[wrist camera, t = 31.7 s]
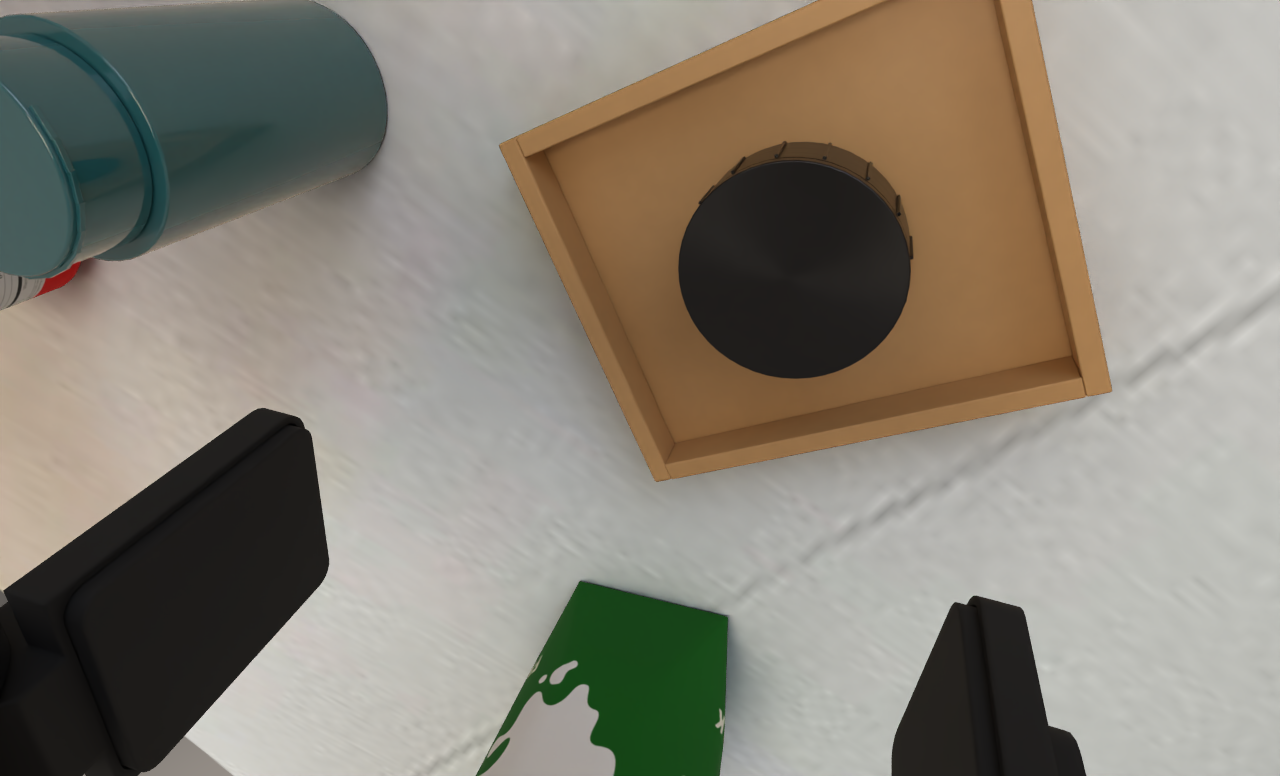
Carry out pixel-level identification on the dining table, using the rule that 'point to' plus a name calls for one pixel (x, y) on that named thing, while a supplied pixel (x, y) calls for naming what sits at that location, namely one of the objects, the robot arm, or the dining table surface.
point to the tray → (910, 161)
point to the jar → (171, 122)
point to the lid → (797, 261)
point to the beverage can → (30, 286)
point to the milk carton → (620, 693)
